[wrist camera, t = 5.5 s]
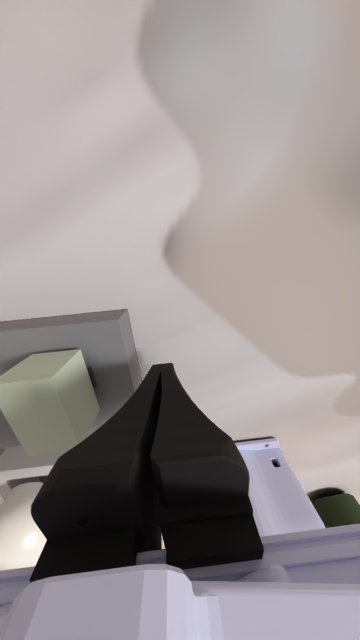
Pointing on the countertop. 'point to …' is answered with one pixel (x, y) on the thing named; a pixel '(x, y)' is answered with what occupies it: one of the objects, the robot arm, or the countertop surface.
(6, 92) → the countertop surface
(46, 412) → the pale green block
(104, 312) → the switch panel
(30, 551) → the off-white button
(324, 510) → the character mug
